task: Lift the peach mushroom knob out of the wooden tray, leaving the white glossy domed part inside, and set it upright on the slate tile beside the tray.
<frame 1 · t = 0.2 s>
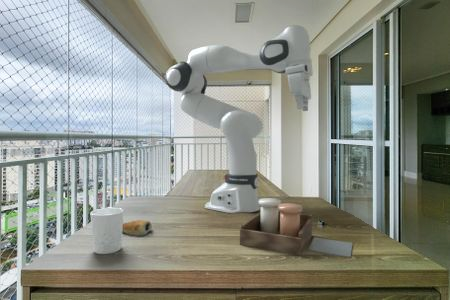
hand: (303, 110, 107), 39 cm above the table, tool pointing down, fingers open, 8 cm apart
white cup: (107, 250, 77), on the table
pastry: (136, 233, 91), on the table
slate tile: (330, 249, 78), on the table
white glossy domed part: (269, 234, 87), point 1 cm above the table, touching wooden tray
peach mushroom knob: (289, 242, 81), point 1 cm above the table, touching wooden tray
wooden tray: (277, 241, 83), on the table
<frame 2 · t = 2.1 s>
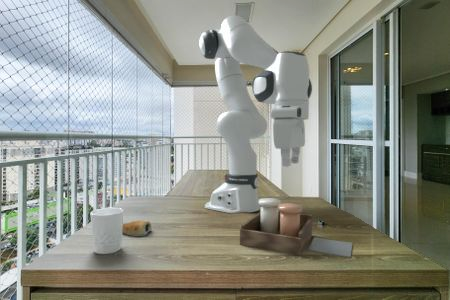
hand: (290, 164, 80), 22 cm above the table, tool pointing down, fingers open, 8 cm apart
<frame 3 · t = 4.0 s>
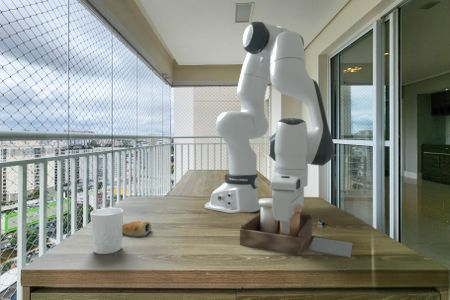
hand: (289, 229, 81), 4 cm above the table, tool pointing down, fingers closed on peach mushroom knob, 6 cm apart
peach mushroom knob: (289, 242, 81), point 1 cm above the table, touching wooden tray, gripper
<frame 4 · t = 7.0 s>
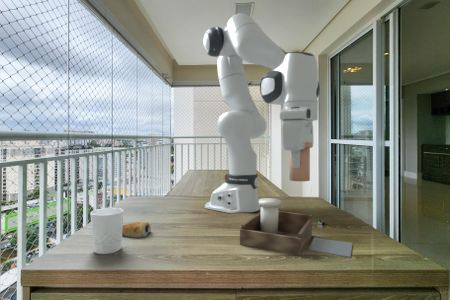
hand: (299, 166, 79), 21 cm above the table, tool pointing down, fingers closed on peach mushroom knob, 6 cm apart
peach mushroom knob: (299, 179, 79), point 18 cm above the table, touching gripper
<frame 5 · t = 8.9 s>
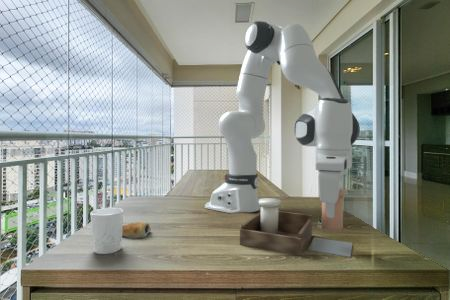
hand: (332, 213, 77), 9 cm above the table, tool pointing down, fingers closed on peach mushroom knob, 6 cm apart
peach mushroom knob: (332, 227, 77), point 6 cm above the table, touching gripper
when the fingers open (6 cm above the table, at t = 10.2 s): peach mushroom knob drops 1 cm, resting on slate tile.
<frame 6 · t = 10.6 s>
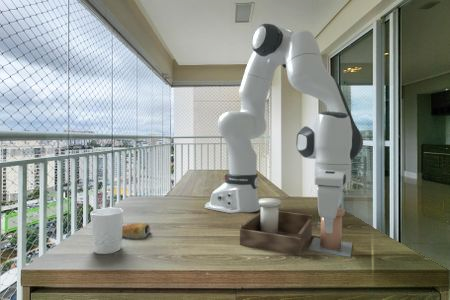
hand: (331, 227, 77), 6 cm above the table, tool pointing down, fingers open, 8 cm apart
peach mushroom knob: (330, 245, 78), point 1 cm above the table, touching slate tile
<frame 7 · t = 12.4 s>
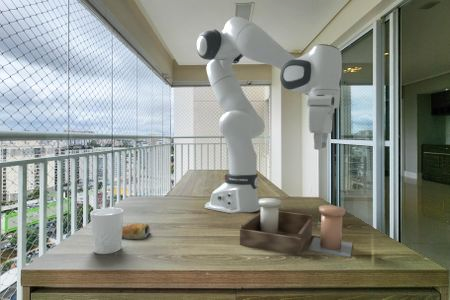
hand: (320, 148, 88), 26 cm above the table, tool pointing down, fingers open, 8 cm apart
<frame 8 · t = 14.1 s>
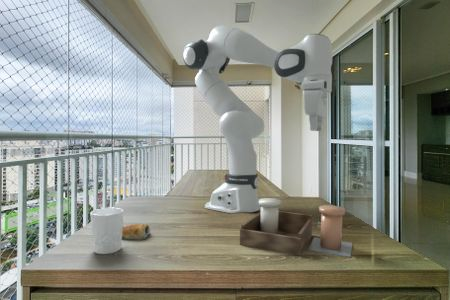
hand: (316, 131, 94), 31 cm above the table, tool pointing down, fingers open, 8 cm apart
at the end: peach mushroom knob 0.1 cm off-centre on the slate tile, point 0.9 cm above the slate tile's base; peach mushroom knob tilted 1°; white glossy domed part moved 0.0 cm from its start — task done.
